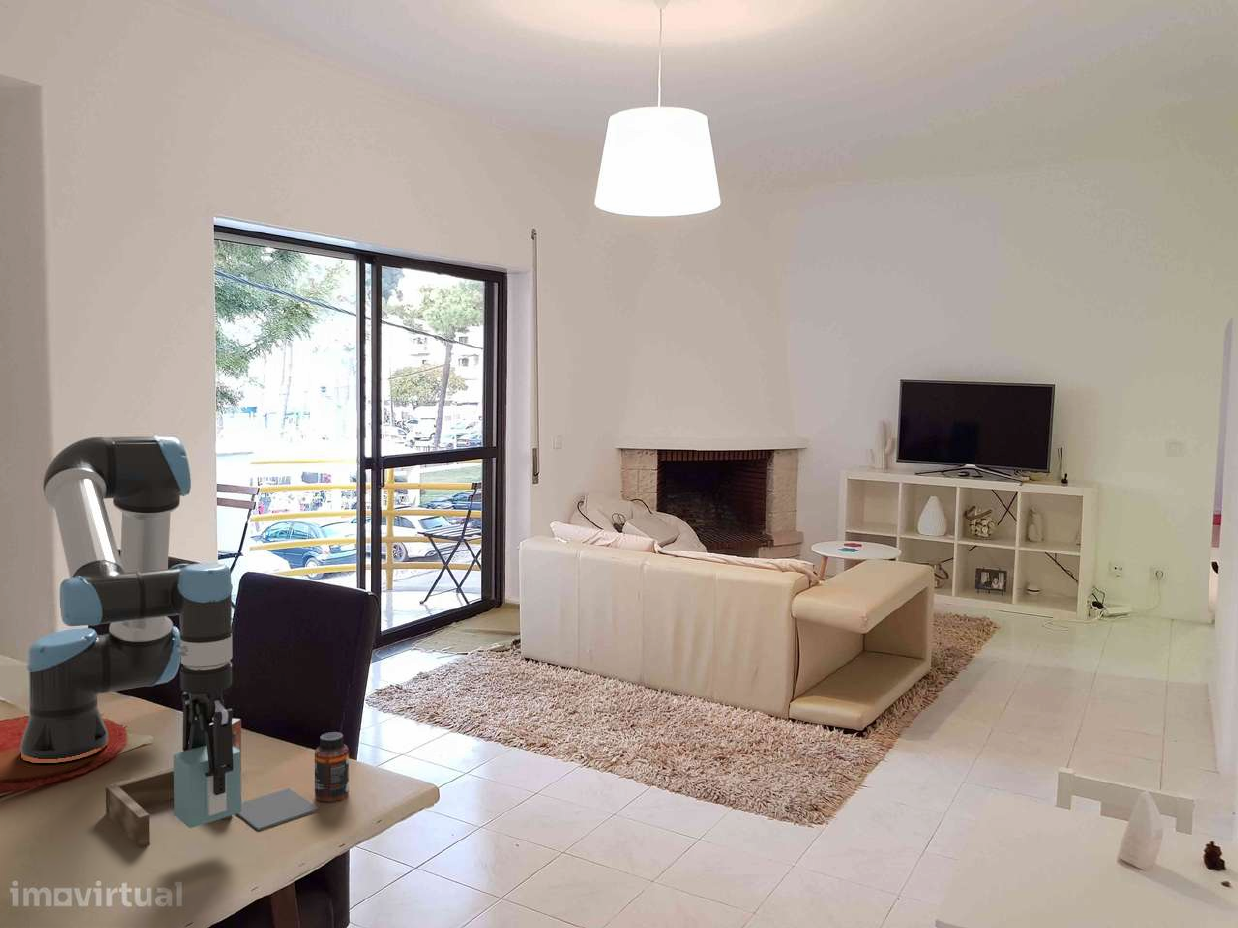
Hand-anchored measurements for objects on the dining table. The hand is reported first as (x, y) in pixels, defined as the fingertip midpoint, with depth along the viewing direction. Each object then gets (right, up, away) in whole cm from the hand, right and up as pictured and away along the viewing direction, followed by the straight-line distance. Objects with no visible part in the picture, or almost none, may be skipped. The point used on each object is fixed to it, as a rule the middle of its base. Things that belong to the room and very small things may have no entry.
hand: (207, 804), depth 149 cm
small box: (-10, -5, +27) cm, 29 cm away
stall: (-12, -6, +12) cm, 18 cm away
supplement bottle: (+13, -6, +21) cm, 26 cm away
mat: (+5, -6, +15) cm, 17 cm away
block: (0, -1, 0) cm, 1 cm away
